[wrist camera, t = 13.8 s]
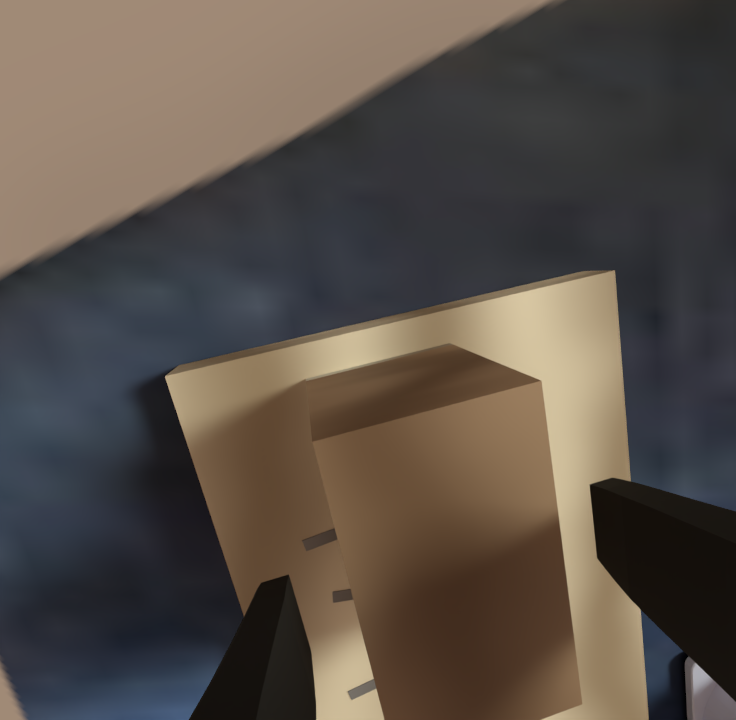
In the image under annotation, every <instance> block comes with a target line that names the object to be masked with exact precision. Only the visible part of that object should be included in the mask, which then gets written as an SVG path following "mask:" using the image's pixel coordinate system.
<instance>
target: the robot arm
mask: <svg viewBox="0 0 736 720" xmlns="http://www.w3.org/2000/svg"><path fill="white" fill-rule="evenodd" d="M589 485H590V495H591V504H592V514H593V524H594V534H595V543H596V553H597V559H598V560H599V562H600V563H601V564H602V565H603V567H604V568H605V569H606V570H607V572H608V573H609V574H610V575H611V577H612V578H613V579H614V580H615V582H616V583H617V584H618V585H619V586H620V588H621V589H622V590H623V591H624V592H625V593H626V595H627V596H628V597H629V598H630V599H631V600H632V601H633V602H634V603H635V604H636V605H637V606H638V607H639V608H640V609H641V610H642V611H643V612H644V613H645V614H646V615H647V616H648V617H649V618H650V619H651V620H652V621H653V622H654V623H655V624H656V625H657V626H658V627H659V628H660V629H661V630H662V631H663V632H664V633H665V634H666V635H667V636H668V637H669V638H670V639H671V640H672V641H673V642H674V643H676V644H677V645H678V646H679V647H680V648H681V649H682V650H683V651H684V652H685V653H686V654H687V655H688V656H689V657H688V658H687V659H686V661H685V682H686V703H687V720H736V512H735V511H732V510H728V509H725V508H721V507H717V506H714V505H710V504H707V503H704V502H700V501H697V500H693V499H690V498H686V497H683V496H680V495H676V494H673V493H669V492H666V491H663V490H659V489H656V488H652V487H649V486H645V485H642V484H638V483H634V482H630V481H626V480H622V479H618V478H613V477H612V478H609V479H606V480H602V481H599V482H596V483H592V484H589ZM189 720H316V696H315V685H314V674H313V664H312V653H311V648H310V645H309V641H308V638H307V635H306V631H305V628H304V624H303V621H302V617H301V614H300V611H299V607H298V604H297V600H296V597H295V594H294V590H293V587H292V583H291V580H290V576H289V574H288V575H285V576H282V577H278V578H275V579H272V580H268V581H265V582H262V583H261V584H260V585H259V587H258V588H257V590H256V592H255V594H254V597H253V599H252V601H251V603H250V605H249V607H248V609H247V611H246V614H245V616H244V618H243V620H242V622H241V624H240V626H239V628H238V630H237V632H236V634H235V636H234V638H233V640H232V642H231V644H230V646H229V648H228V650H227V652H226V654H225V655H224V657H223V659H222V661H221V663H220V665H219V667H218V669H217V671H216V673H215V675H214V676H213V678H212V680H211V682H210V684H209V686H208V687H207V689H206V691H205V693H204V694H203V696H202V698H201V699H200V701H199V703H198V705H197V706H196V708H195V710H194V712H193V713H192V715H191V717H190V719H189Z"/></svg>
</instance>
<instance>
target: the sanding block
mask: <svg viewBox="0 0 736 720" xmlns="http://www.w3.org/2000/svg"><path fill="white" fill-rule="evenodd" d="M306 387H307V396H308V406H309V416H310V425H311V435H312V443H313V447H314V451H315V454H316V458H317V462H318V466H319V470H320V474H321V478H322V481H323V485H324V489H325V493H326V497H327V501H328V504H329V508H330V512H331V516H332V520H333V524H334V528H335V531H336V535H337V539H338V543H339V547H340V551H341V554H342V558H343V562H344V566H345V570H346V574H347V578H348V581H349V585H350V589H351V593H352V597H353V601H354V604H355V608H356V612H357V616H358V620H359V624H360V628H361V631H362V635H363V639H364V643H365V647H366V651H367V654H368V658H369V662H370V666H371V670H372V674H373V678H374V681H375V685H376V689H377V693H378V697H379V701H380V704H381V708H382V712H383V716H384V720H542V719H544V718H547V717H550V716H552V715H555V714H558V713H560V712H563V711H566V710H568V709H571V708H574V707H576V706H579V705H582V696H581V688H580V680H579V672H578V664H577V656H576V649H575V641H574V633H573V625H572V617H571V609H570V601H569V593H568V586H567V578H566V570H565V562H564V554H563V546H562V538H561V530H560V523H559V515H558V507H557V499H556V491H555V483H554V475H553V467H552V460H551V452H550V444H549V436H548V428H547V420H546V412H545V404H544V397H543V389H542V381H541V380H539V379H536V378H534V377H531V376H529V375H526V374H524V373H521V372H519V371H517V370H514V369H512V368H509V367H507V366H504V365H502V364H499V363H497V362H495V361H492V360H490V359H487V358H485V357H482V356H480V355H477V354H475V353H473V352H470V351H468V350H465V349H463V348H460V347H458V346H456V345H453V344H451V343H448V344H444V345H440V346H436V347H432V348H428V349H424V350H420V351H416V352H412V353H408V354H404V355H400V356H396V357H391V358H387V359H383V360H379V361H375V362H371V363H367V364H363V365H359V366H355V367H351V368H347V369H343V370H339V371H335V372H331V373H327V374H323V375H319V376H315V377H311V378H307V379H306Z"/></svg>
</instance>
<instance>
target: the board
mask: <svg viewBox="0 0 736 720" xmlns="http://www.w3.org/2000/svg"><path fill="white" fill-rule="evenodd" d="M448 343H451V344H453V345H456V346H458V347H460V348H463V349H465V350H468V351H470V352H473V353H475V354H477V355H480V356H482V357H485V358H487V359H490V360H492V361H495V362H497V363H499V364H502V365H504V366H507V367H509V368H512V369H514V370H517V371H519V372H521V373H524V374H526V375H529V376H531V377H534V378H536V379H539V380H541V381H542V389H543V397H544V404H545V412H546V420H547V428H548V436H549V444H550V452H551V460H552V467H553V475H554V483H555V491H556V499H557V507H558V515H559V523H560V530H561V538H562V546H563V554H564V562H565V570H566V578H567V586H568V593H569V601H570V609H571V617H572V625H573V633H574V641H575V649H576V656H577V664H578V672H579V680H580V688H581V696H582V705H579V706H576V707H574V708H571V709H568V710H566V711H563V712H560V713H558V714H555V715H552V716H550V717H547V718H544V719H542V720H649V717H648V703H647V690H646V677H645V664H644V650H643V637H642V624H641V611H640V608H639V607H638V606H637V605H636V604H635V603H634V602H633V601H632V600H631V599H630V598H629V597H628V596H627V595H626V593H625V592H624V591H623V590H622V589H621V588H620V586H619V585H618V584H617V583H616V582H615V580H614V579H613V578H612V577H611V575H610V574H609V573H608V572H607V570H606V569H605V568H604V567H603V565H602V564H601V563H600V562H599V560H598V559H597V553H596V543H595V534H594V524H593V514H592V504H591V495H590V485H589V484H592V483H596V482H599V481H602V480H606V479H609V478H612V477H613V478H618V479H622V480H626V481H630V482H631V478H630V465H629V452H628V439H627V425H626V412H625V399H624V386H623V373H622V359H621V346H620V333H619V320H618V306H617V293H616V280H615V270H613V271H582V272H578V273H573V274H569V275H565V276H561V277H556V278H552V279H548V280H543V281H539V282H535V283H531V284H526V285H522V286H518V287H513V288H509V289H505V290H500V291H496V292H492V293H488V294H483V295H479V296H475V297H470V298H466V299H462V300H458V301H453V302H449V303H445V304H440V305H436V306H432V307H428V308H423V309H419V310H415V311H410V312H406V313H402V314H398V315H393V316H389V317H385V318H380V319H376V320H372V321H367V322H363V323H359V324H355V325H350V326H346V327H342V328H337V329H333V330H329V331H325V332H320V333H316V334H312V335H307V336H303V337H299V338H295V339H290V340H286V341H282V342H277V343H273V344H269V345H264V346H260V347H256V348H252V349H247V350H243V351H239V352H234V353H230V354H226V355H222V356H217V357H213V358H209V359H204V360H200V361H196V362H192V363H187V364H183V365H179V366H178V367H176V368H175V369H174V370H172V371H171V372H170V373H168V374H167V375H166V376H165V379H166V382H167V385H168V388H169V391H170V394H171V397H172V400H173V403H174V406H175V409H176V412H177V415H178V418H179V421H180V424H181V427H182V430H183V433H184V436H185V439H186V442H187V445H188V448H189V451H190V454H191V457H192V460H193V463H194V466H195V469H196V472H197V476H198V479H199V482H200V485H201V488H202V491H203V494H204V497H205V500H206V503H207V506H208V509H209V512H210V515H211V518H212V521H213V524H214V527H215V530H216V533H217V536H218V539H219V542H220V545H221V548H222V551H223V554H224V557H225V560H226V563H227V566H228V569H229V572H230V575H231V579H232V582H233V585H234V588H235V591H236V594H237V597H238V600H239V603H240V606H241V609H242V612H243V615H244V616H245V614H246V611H247V609H248V607H249V605H250V603H251V601H252V599H253V597H254V594H255V592H256V590H257V588H258V587H259V585H260V584H261V583H262V582H265V581H268V580H272V579H275V578H278V577H282V576H285V575H288V574H289V576H290V580H291V583H292V587H293V590H294V594H295V597H296V600H297V604H298V607H299V611H300V614H301V617H302V621H303V624H304V628H305V631H306V635H307V638H308V641H309V645H310V648H311V653H312V664H313V674H314V685H315V696H316V720H384V716H383V712H382V708H381V704H380V701H379V697H378V693H377V689H376V685H375V681H374V678H373V674H372V670H371V666H370V662H369V658H368V654H367V651H366V647H365V643H364V639H363V635H362V631H361V628H360V624H359V620H358V616H357V612H356V608H355V604H354V601H353V597H352V593H351V589H350V585H349V581H348V578H347V574H346V570H345V566H344V562H343V558H342V554H341V551H340V547H339V543H338V539H337V535H336V531H335V528H334V524H333V520H332V516H331V512H330V508H329V504H328V501H327V497H326V493H325V489H324V485H323V481H322V478H321V474H320V470H319V466H318V462H317V458H316V454H315V451H314V447H313V443H312V435H311V425H310V416H309V406H308V396H307V387H306V379H307V378H311V377H315V376H319V375H323V374H327V373H331V372H335V371H339V370H343V369H347V368H351V367H355V366H359V365H363V364H367V363H371V362H375V361H379V360H383V359H387V358H391V357H396V356H400V355H404V354H408V353H412V352H416V351H420V350H424V349H428V348H432V347H436V346H440V345H444V344H448Z"/></svg>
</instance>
